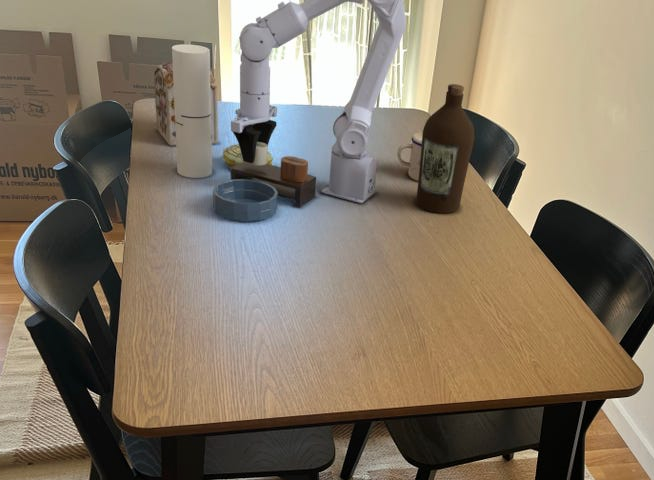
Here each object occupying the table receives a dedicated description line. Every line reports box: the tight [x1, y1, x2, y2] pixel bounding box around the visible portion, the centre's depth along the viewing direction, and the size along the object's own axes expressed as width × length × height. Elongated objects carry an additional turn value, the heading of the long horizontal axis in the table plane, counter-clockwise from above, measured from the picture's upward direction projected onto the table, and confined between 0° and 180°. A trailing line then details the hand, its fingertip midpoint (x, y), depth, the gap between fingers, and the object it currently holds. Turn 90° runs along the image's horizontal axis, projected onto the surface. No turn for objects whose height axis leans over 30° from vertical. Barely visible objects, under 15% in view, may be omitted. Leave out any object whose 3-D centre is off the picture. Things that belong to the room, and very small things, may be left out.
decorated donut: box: [222, 143, 274, 169], centre depth 166 cm, size 10×11×4 cm
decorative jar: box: [153, 61, 219, 147], centre depth 173 cm, size 12×12×18 cm
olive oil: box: [415, 83, 475, 214], centre depth 155 cm, size 11×11×25 cm
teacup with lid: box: [396, 131, 423, 182], centre depth 172 cm, size 12×9×12 cm
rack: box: [230, 162, 317, 209], centre depth 155 cm, size 16×7×4 cm, turn 69°
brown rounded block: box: [280, 155, 309, 182], centre depth 152 cm, size 6×4×4 cm
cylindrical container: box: [171, 43, 213, 179], centre depth 154 cm, size 7×7×25 cm
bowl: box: [212, 179, 279, 222], centre depth 147 cm, size 12×12×4 cm
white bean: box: [241, 141, 269, 166], centre depth 153 cm, size 6×4×4 cm
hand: (254, 158), depth 154 cm, fingers closed on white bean, 4 cm apart
